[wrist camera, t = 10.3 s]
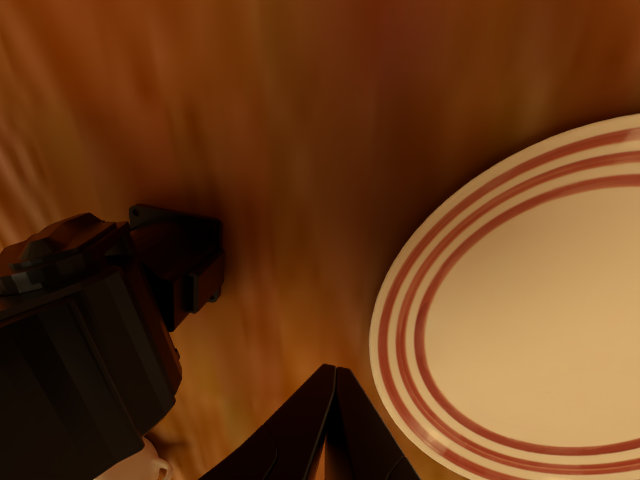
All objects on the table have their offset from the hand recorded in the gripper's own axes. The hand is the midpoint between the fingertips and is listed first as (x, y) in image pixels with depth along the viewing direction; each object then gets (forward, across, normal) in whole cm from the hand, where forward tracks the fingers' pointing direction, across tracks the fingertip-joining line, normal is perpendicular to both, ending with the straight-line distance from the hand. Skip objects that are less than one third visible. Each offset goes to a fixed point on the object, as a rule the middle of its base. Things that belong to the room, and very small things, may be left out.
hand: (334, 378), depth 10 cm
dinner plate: (+14, +16, -4) cm, 21 cm away
